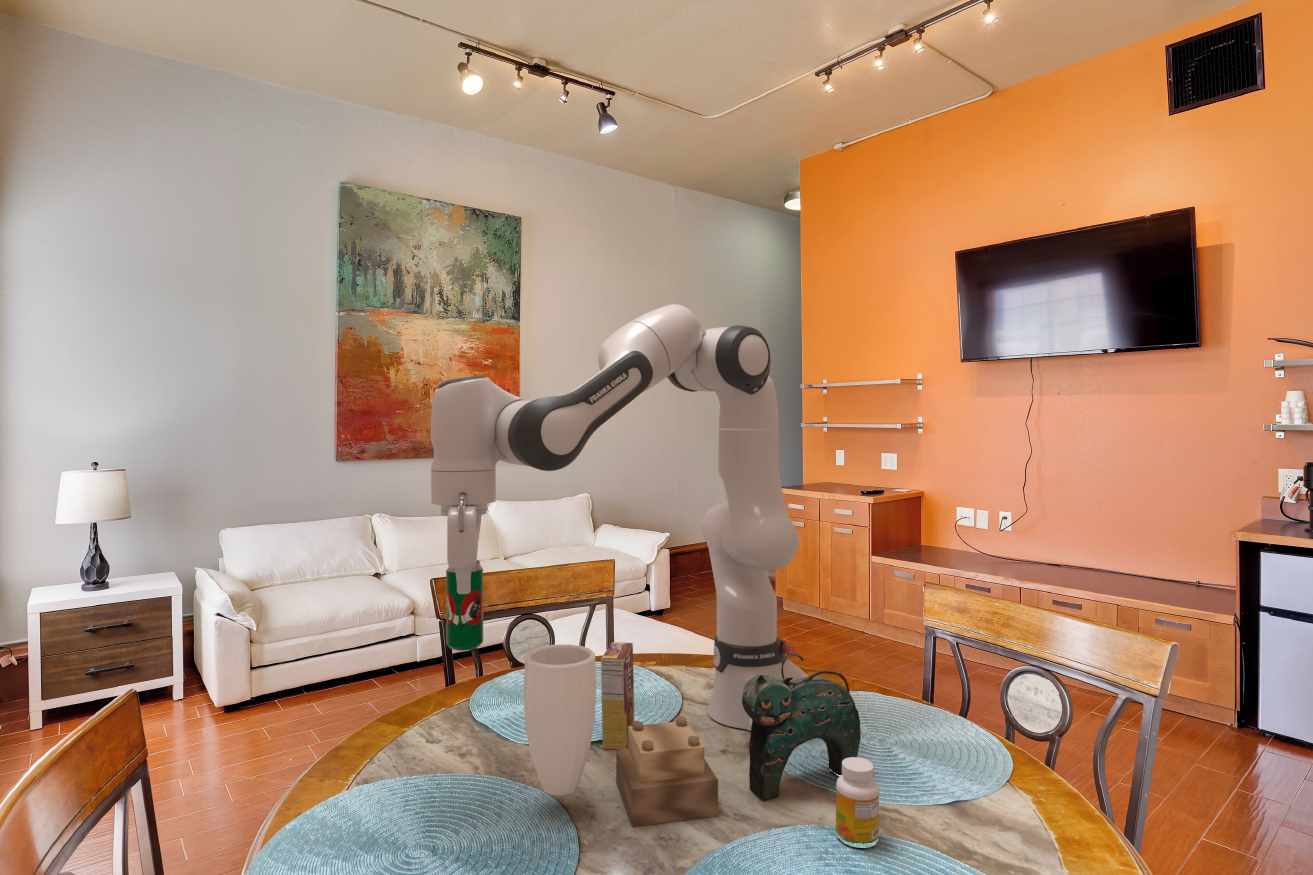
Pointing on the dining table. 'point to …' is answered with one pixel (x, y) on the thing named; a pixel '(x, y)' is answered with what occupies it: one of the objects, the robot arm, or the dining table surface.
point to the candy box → (617, 694)
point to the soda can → (464, 611)
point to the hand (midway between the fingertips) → (464, 587)
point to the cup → (559, 713)
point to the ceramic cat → (796, 724)
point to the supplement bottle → (857, 802)
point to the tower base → (665, 795)
